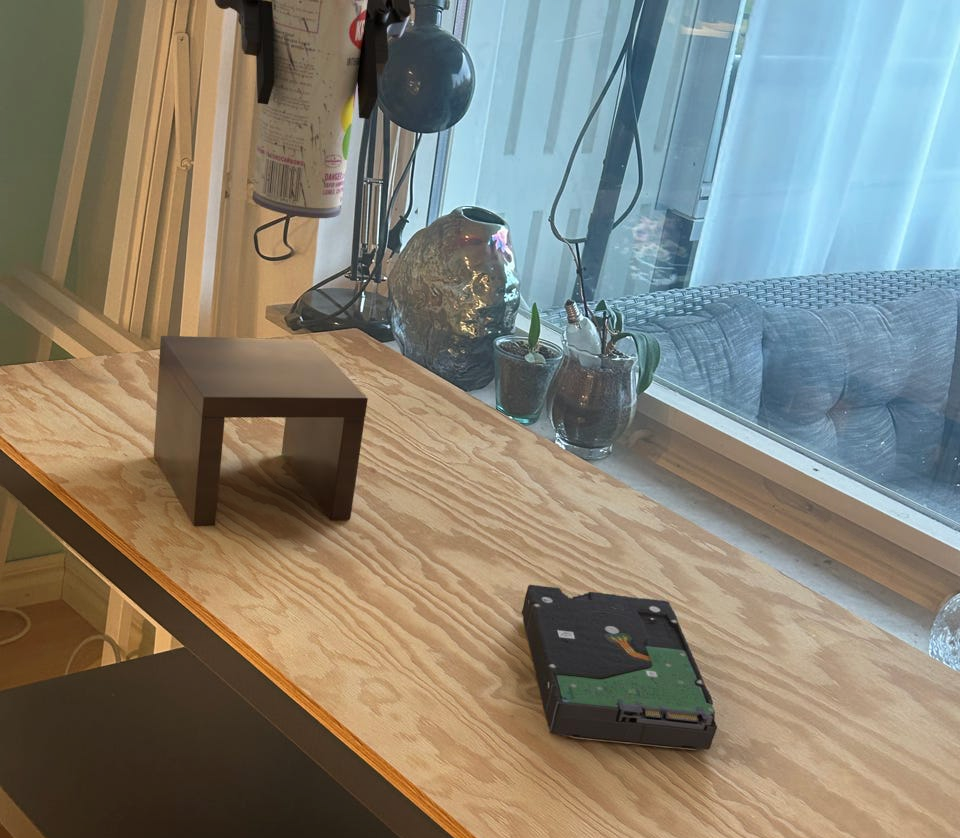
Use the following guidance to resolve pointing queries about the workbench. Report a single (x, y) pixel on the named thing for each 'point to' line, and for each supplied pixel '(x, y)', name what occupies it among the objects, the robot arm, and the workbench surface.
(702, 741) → the disk drive
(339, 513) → the shelf
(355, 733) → the workbench surface
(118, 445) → the workbench surface
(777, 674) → the workbench surface
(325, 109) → the aerosol can
